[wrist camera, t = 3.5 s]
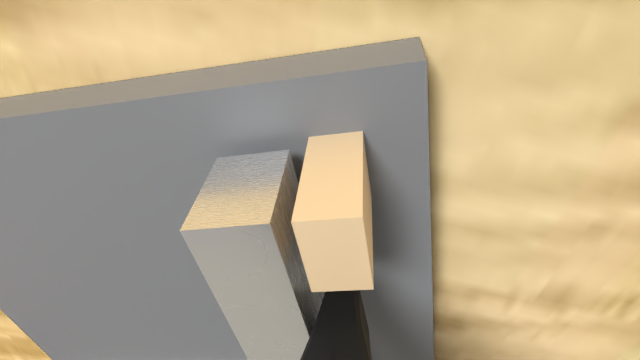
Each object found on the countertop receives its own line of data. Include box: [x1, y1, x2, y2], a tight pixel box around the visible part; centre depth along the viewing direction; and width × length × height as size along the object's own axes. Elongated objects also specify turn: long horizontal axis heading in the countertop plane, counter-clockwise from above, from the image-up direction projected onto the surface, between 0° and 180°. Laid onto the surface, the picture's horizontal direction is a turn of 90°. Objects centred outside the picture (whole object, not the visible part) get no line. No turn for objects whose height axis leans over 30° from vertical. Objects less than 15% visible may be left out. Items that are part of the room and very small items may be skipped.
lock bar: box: [180, 150, 325, 360], centre depth 12 cm, size 12×3×2 cm, turn 11°
